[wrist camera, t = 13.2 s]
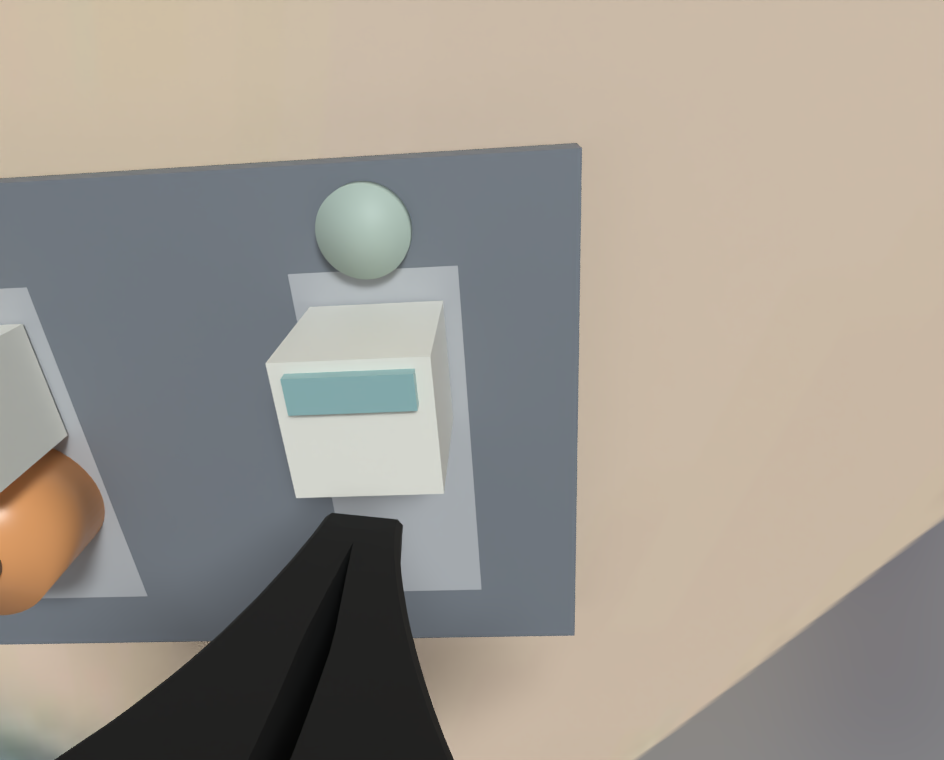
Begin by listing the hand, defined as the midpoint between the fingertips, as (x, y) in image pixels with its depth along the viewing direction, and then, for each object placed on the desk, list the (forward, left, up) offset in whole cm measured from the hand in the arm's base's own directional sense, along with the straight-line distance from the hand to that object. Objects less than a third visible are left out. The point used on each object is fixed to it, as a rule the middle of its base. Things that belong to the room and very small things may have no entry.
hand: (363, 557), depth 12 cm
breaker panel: (+3, -7, -10) cm, 12 cm away
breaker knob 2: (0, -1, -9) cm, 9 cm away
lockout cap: (+5, -14, -9) cm, 17 cm away
